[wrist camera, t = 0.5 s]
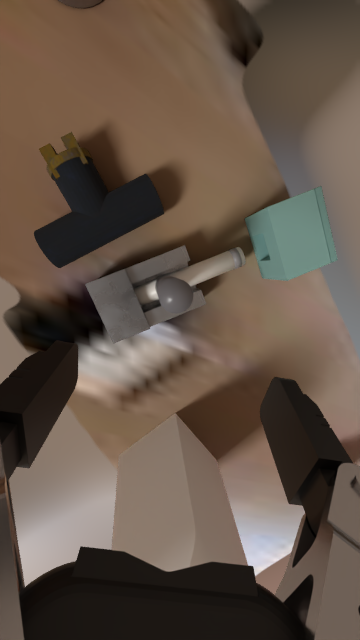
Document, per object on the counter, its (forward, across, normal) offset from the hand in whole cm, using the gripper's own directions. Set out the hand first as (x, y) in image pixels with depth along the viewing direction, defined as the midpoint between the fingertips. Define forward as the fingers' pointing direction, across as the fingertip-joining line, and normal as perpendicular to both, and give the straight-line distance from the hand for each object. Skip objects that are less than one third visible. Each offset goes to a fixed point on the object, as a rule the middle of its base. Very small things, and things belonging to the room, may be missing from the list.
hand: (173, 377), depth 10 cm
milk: (+20, -4, +33) cm, 38 cm away
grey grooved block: (+26, +4, +6) cm, 27 cm away
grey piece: (+26, 0, +4) cm, 26 cm away
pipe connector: (+29, +13, -4) cm, 32 cm away
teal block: (+30, -13, -3) cm, 33 cm away
